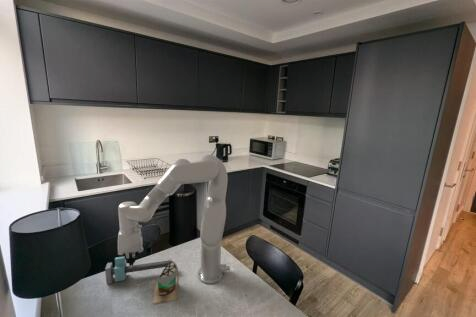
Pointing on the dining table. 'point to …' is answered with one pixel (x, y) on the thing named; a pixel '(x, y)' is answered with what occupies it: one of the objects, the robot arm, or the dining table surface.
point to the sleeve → (120, 268)
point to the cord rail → (133, 268)
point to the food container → (167, 279)
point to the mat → (165, 298)
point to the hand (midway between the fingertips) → (131, 263)
